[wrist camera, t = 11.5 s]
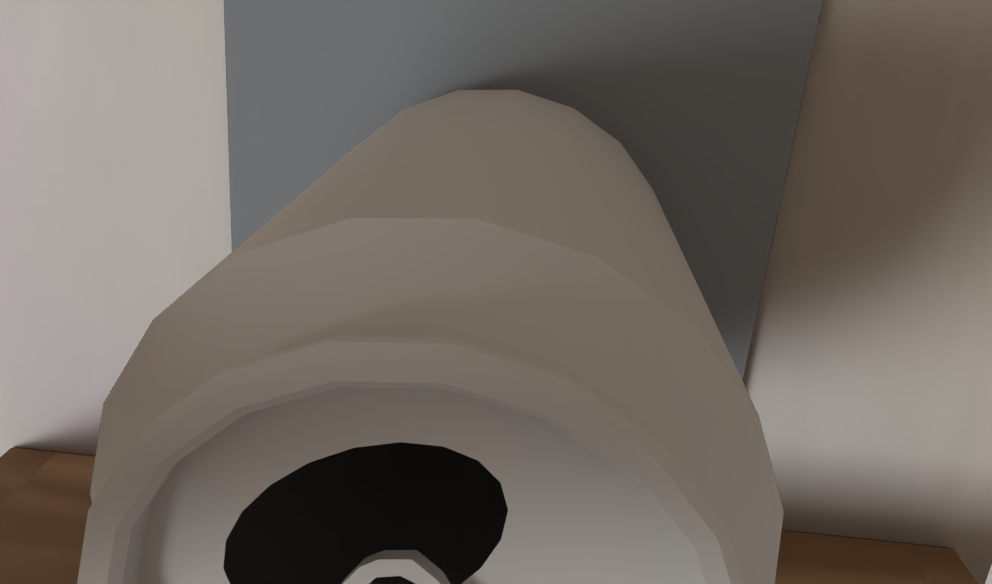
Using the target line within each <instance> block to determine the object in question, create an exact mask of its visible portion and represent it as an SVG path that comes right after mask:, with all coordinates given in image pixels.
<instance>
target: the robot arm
mask: <svg viewBox="0 0 992 584" xmlns="http://www.w3.org/2000/svg"><path fill="white" fill-rule="evenodd" d="M985 584H992V565H991V568H990V571H989V574H988V577H987V579H986V582H985Z"/></svg>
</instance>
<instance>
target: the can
mask: <svg viewBox="0 0 992 584" xmlns="http://www.w3.org/2000/svg"><path fill="white" fill-rule="evenodd" d="M90 496H91V501H92V505H91V506H90V508H89V510H88V514H87V521H86V528H85V534H84V541H83V548H82V554H81V561H80V567H79V574H78V581H77V584H775V577H776V569H777V561H778V554H779V546H780V538H781V530H782V523H783V515H784V510H783V507H782V503H781V499H780V495H779V491H778V488H777V484H776V480H775V476H774V472H773V469H772V465H771V461H770V457H769V453H768V450H767V446H766V442H765V438H764V434H763V431H762V427H761V423H760V419H759V415H758V413H757V411H756V409H755V407H754V405H753V403H752V400H751V398H750V396H749V394H748V392H747V390H746V388H745V385H744V383H743V381H742V379H741V377H740V375H739V373H738V371H737V368H736V366H735V364H734V362H733V360H732V358H731V356H730V353H729V351H728V349H727V347H726V345H725V343H724V341H723V338H722V336H721V334H720V332H719V330H718V328H717V326H716V323H715V321H714V319H713V317H712V315H711V313H710V311H709V308H708V306H707V304H706V302H705V300H704V298H703V296H702V293H701V291H700V289H699V287H698V285H697V283H696V281H695V279H694V276H693V274H692V272H691V270H690V268H689V266H688V264H687V261H686V259H685V257H684V255H683V253H682V251H681V249H680V246H679V244H678V242H677V240H676V238H675V236H674V234H673V231H672V229H671V227H670V225H669V223H668V221H667V219H666V216H665V214H664V212H663V210H662V208H661V206H660V204H659V201H658V199H657V197H656V195H655V193H654V191H653V189H652V187H651V186H650V184H649V183H648V182H647V180H646V179H645V177H644V176H643V174H642V173H641V171H640V170H639V169H638V167H637V166H636V164H635V163H634V161H633V160H632V159H631V157H630V156H629V154H628V153H627V151H626V150H625V148H624V147H623V146H622V144H621V143H620V142H619V141H618V140H616V139H615V138H614V137H612V136H611V135H610V134H608V133H607V132H605V131H604V130H603V129H601V128H600V127H599V126H597V125H596V124H595V123H593V122H592V121H591V120H589V119H588V118H586V117H585V116H584V115H582V114H581V113H580V112H578V111H577V110H576V109H574V108H572V107H569V106H566V105H563V104H560V103H557V102H554V101H551V100H548V99H544V98H541V97H538V96H535V95H532V94H529V93H526V92H523V91H520V90H457V91H454V92H451V93H448V94H445V95H443V96H440V97H437V98H434V99H431V100H428V101H425V102H422V103H419V104H416V105H413V106H411V107H408V108H405V109H403V110H402V111H400V112H399V113H398V114H396V115H395V116H394V117H393V118H391V119H390V120H389V121H387V122H386V123H385V124H384V125H382V126H381V127H380V128H379V129H377V130H376V131H375V132H373V133H372V134H371V135H370V136H368V137H367V138H366V139H364V140H363V141H362V142H361V143H359V144H358V145H357V146H356V147H355V148H353V149H352V150H351V151H350V152H349V153H348V154H346V155H345V156H344V157H343V158H342V159H341V160H339V161H338V162H337V163H336V164H335V165H334V166H332V167H331V168H330V169H329V170H328V171H327V172H325V173H324V174H323V175H322V176H321V177H320V178H318V179H317V180H316V181H315V182H314V183H313V184H311V185H310V186H309V187H308V188H307V189H305V190H304V191H303V192H302V193H301V194H300V195H298V196H297V197H296V198H295V199H294V200H293V201H291V202H290V203H289V204H288V205H287V206H286V207H284V208H283V209H282V210H281V211H280V212H279V213H277V214H276V215H275V216H274V217H273V218H272V219H270V220H269V221H268V222H267V223H266V224H265V225H263V226H262V227H261V228H260V229H259V230H258V231H256V232H255V233H254V234H253V235H252V236H251V237H249V238H248V239H247V240H246V241H245V242H243V243H242V244H241V245H240V246H239V247H238V248H236V249H235V250H234V251H233V252H232V253H231V254H229V255H228V256H227V257H226V258H225V259H224V260H222V261H221V262H220V263H219V264H218V265H217V266H215V267H214V268H213V269H212V270H211V271H210V272H208V273H207V274H206V275H205V276H204V277H203V278H201V279H200V280H199V281H198V282H197V283H196V284H194V285H193V286H192V287H191V288H190V289H189V290H187V291H186V292H185V293H184V294H183V295H182V296H180V297H179V298H178V299H177V300H176V301H174V302H173V303H172V304H171V305H170V306H169V307H167V308H166V309H165V310H164V311H163V312H162V313H160V314H159V315H158V316H157V317H156V318H155V319H153V321H152V323H151V324H150V326H149V328H148V329H147V331H146V333H145V334H144V336H143V338H142V339H141V341H140V343H139V344H138V346H137V348H136V349H135V351H134V353H133V355H132V356H131V358H130V360H129V361H128V363H127V365H126V366H125V368H124V370H123V371H122V373H121V375H120V376H119V378H118V380H117V381H116V383H115V385H114V386H113V388H112V390H111V391H110V393H109V395H108V397H107V398H106V400H105V402H104V403H103V410H102V416H101V423H100V430H99V436H98V443H97V450H96V456H95V463H94V470H93V476H92V483H91V490H90Z"/></svg>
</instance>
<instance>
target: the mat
mask: <svg viewBox="0 0 992 584" xmlns="http://www.w3.org/2000/svg"><path fill="white" fill-rule="evenodd" d="M822 2H823V0H224V23H225V53H226V84H227V114H228V144H229V175H230V205H231V236H232V252H233V251H234V250H235V249H236V248H238V247H239V246H240V245H241V244H242V243H243V242H245V241H246V240H247V239H248V238H249V237H251V236H252V235H253V234H254V233H255V232H256V231H258V230H259V229H260V228H261V227H262V226H263V225H265V224H266V223H267V222H268V221H269V220H270V219H272V218H273V217H274V216H275V215H276V214H277V213H279V212H280V211H281V210H282V209H283V208H284V207H286V206H287V205H288V204H289V203H290V202H291V201H293V200H294V199H295V198H296V197H297V196H298V195H300V194H301V193H302V192H303V191H304V190H305V189H307V188H308V187H309V186H310V185H311V184H313V183H314V182H315V181H316V180H317V179H318V178H320V177H321V176H322V175H323V174H324V173H325V172H327V171H328V170H329V169H330V168H331V167H332V166H334V165H335V164H336V163H337V162H338V161H339V160H341V159H342V158H343V157H344V156H345V155H346V154H348V153H349V152H350V151H351V150H352V149H353V148H355V147H356V146H357V145H358V144H359V143H361V142H362V141H363V140H364V139H366V138H367V137H368V136H370V135H371V134H372V133H373V132H375V131H376V130H377V129H379V128H380V127H381V126H382V125H384V124H385V123H386V122H387V121H389V120H390V119H391V118H393V117H394V116H395V115H396V114H398V113H399V112H400V111H402V110H403V109H405V108H408V107H411V106H413V105H416V104H419V103H422V102H425V101H428V100H431V99H434V98H437V97H440V96H443V95H445V94H448V93H451V92H454V91H457V90H520V91H523V92H526V93H529V94H532V95H535V96H538V97H541V98H544V99H548V100H551V101H554V102H557V103H560V104H563V105H566V106H569V107H572V108H574V109H576V110H577V111H578V112H580V113H581V114H582V115H584V116H585V117H586V118H588V119H589V120H591V121H592V122H593V123H595V124H596V125H597V126H599V127H600V128H601V129H603V130H604V131H605V132H607V133H608V134H610V135H611V136H612V137H614V138H615V139H616V140H618V141H619V142H620V143H621V144H622V146H623V147H624V148H625V150H626V151H627V153H628V154H629V156H630V157H631V159H632V160H633V161H634V163H635V164H636V166H637V167H638V169H639V170H640V171H641V173H642V174H643V176H644V177H645V179H646V180H647V182H648V183H649V184H650V186H651V187H652V189H653V191H654V193H655V195H656V197H657V199H658V201H659V204H660V206H661V208H662V210H663V212H664V214H665V216H666V219H667V221H668V223H669V225H670V227H671V229H672V231H673V234H674V236H675V238H676V240H677V242H678V244H679V246H680V249H681V251H682V253H683V255H684V257H685V259H686V261H687V264H688V266H689V268H690V270H691V272H692V274H693V276H694V279H695V281H696V283H697V285H698V287H699V289H700V291H701V293H702V296H703V298H704V300H705V302H706V304H707V306H708V308H709V311H710V313H711V315H712V317H713V319H714V321H715V323H716V326H717V328H718V330H719V332H720V334H721V336H722V338H723V341H724V343H725V345H726V347H727V349H728V351H729V353H730V356H731V358H732V360H733V362H734V364H735V366H736V368H737V371H738V373H739V375H740V377H741V379H742V381H743V376H744V371H745V367H746V362H747V357H748V353H749V348H750V343H751V338H752V334H753V329H754V324H755V319H756V315H757V310H758V305H759V300H760V296H761V291H762V286H763V282H764V277H765V272H766V267H767V263H768V258H769V253H770V248H771V244H772V239H773V234H774V229H775V225H776V220H777V215H778V211H779V206H780V201H781V196H782V192H783V187H784V182H785V177H786V173H787V168H788V163H789V159H790V154H791V149H792V144H793V140H794V135H795V130H796V125H797V121H798V116H799V111H800V106H801V102H802V97H803V92H804V88H805V83H806V78H807V73H808V69H809V64H810V59H811V54H812V50H813V45H814V40H815V35H816V31H817V26H818V21H819V17H820V12H821V7H822Z"/></svg>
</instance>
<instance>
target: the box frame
mask: <svg viewBox="0 0 992 584" xmlns="http://www.w3.org/2000/svg"><path fill="white" fill-rule="evenodd" d="M94 463H95V456H86V455H77V454H68V453H58V452H49V451H40V450H30V449H21V448H11V449H10V450H8V451H7V452H6V453H5V454H4V455H3V456H2V457H0V584H77V581H78V574H79V567H80V561H81V554H82V548H83V541H84V534H85V528H86V521H87V514H88V510H89V508H90V506H91V505H92V501H91V496H90V490H91V483H92V476H93V470H94ZM775 584H977V582H976V581H975V579H974V578H973V577H972V575H971V574H970V572H969V571H968V569H967V568H966V567H965V565H964V564H963V562H962V561H961V559H960V558H959V557H958V555H957V554H956V552H955V551H954V549H950V548H941V547H932V546H922V545H913V544H904V543H895V542H885V541H876V540H867V539H857V538H848V537H839V536H830V535H820V534H811V533H802V532H792V531H783V530H781V538H780V546H779V554H778V561H777V569H776V577H775Z"/></svg>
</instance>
